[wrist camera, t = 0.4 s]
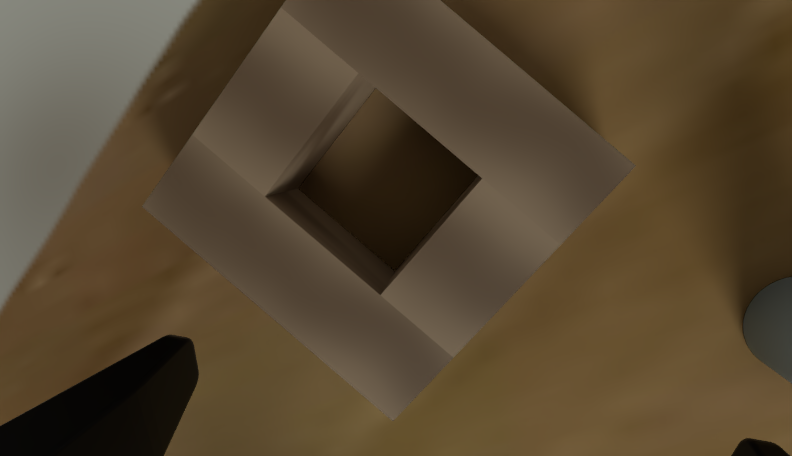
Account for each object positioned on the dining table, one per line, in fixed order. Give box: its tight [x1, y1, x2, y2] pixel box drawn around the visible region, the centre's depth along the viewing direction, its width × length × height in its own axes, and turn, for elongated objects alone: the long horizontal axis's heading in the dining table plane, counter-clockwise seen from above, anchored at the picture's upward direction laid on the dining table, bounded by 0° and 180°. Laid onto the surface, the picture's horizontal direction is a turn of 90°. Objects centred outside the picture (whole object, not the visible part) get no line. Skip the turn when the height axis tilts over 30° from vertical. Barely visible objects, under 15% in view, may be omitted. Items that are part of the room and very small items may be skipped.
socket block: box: [142, 0, 636, 421], centre depth 22 cm, size 14×14×4 cm
